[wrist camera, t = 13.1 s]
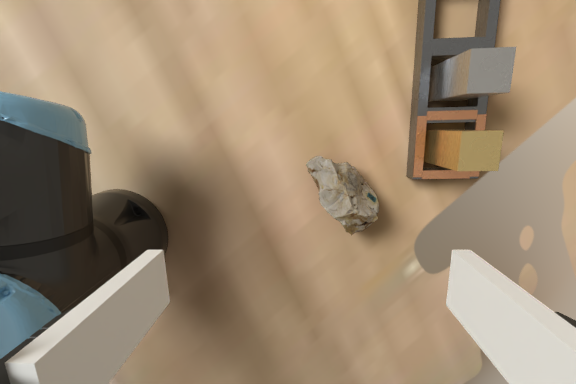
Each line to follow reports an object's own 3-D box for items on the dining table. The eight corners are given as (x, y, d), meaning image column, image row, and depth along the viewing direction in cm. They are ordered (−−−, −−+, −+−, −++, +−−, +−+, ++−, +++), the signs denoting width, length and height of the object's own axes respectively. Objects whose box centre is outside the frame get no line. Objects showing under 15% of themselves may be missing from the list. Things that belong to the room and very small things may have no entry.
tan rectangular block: (422, 161, 43) (457, 171, 33) (424, 130, 42) (461, 131, 32) (453, 160, 43) (498, 170, 33) (456, 129, 42) (503, 130, 32)
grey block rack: (406, 176, 43) (413, 179, 41) (420, -20, 38) (428, -31, 35) (468, 175, 43) (478, 178, 40) (491, -24, 37) (505, -35, 34)
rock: (389, 213, 44) (388, 221, 34) (351, 233, 46) (340, 246, 36) (348, 146, 45) (337, 136, 36) (313, 168, 47) (294, 163, 38)
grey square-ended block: (427, 101, 41) (466, 93, 31) (430, 67, 40) (471, 48, 30) (460, 100, 41) (509, 92, 31) (463, 66, 40) (516, 46, 30)
